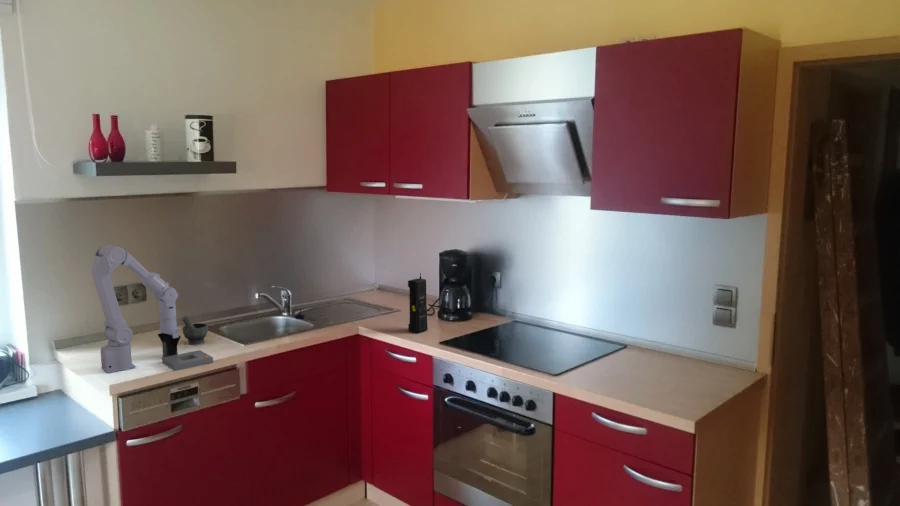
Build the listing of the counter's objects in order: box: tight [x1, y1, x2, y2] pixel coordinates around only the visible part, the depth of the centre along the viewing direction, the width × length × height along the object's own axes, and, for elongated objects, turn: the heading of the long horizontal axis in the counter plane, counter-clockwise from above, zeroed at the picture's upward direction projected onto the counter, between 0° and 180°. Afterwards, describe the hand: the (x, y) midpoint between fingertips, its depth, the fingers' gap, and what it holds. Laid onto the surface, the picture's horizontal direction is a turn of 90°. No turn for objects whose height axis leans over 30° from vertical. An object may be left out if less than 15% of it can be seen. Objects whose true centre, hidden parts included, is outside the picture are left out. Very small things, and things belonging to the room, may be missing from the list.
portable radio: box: [407, 273, 429, 334], centre depth 284 cm, size 8×6×25 cm
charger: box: [161, 341, 178, 357], centre depth 248 cm, size 4×4×7 cm
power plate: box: [161, 349, 214, 371], centre depth 241 cm, size 14×12×2 cm
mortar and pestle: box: [181, 315, 209, 346], centre depth 266 cm, size 11×9×12 cm
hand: (170, 352), depth 249 cm, fingers open, 4 cm apart
